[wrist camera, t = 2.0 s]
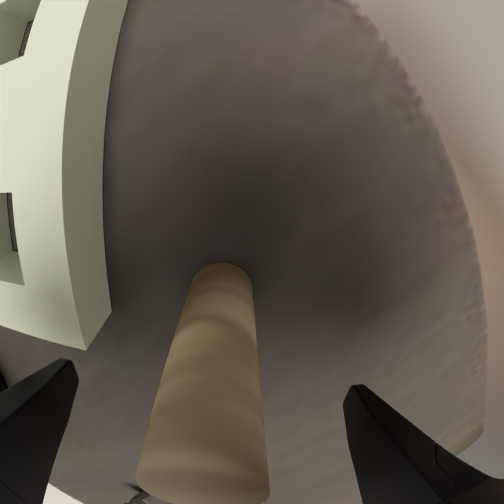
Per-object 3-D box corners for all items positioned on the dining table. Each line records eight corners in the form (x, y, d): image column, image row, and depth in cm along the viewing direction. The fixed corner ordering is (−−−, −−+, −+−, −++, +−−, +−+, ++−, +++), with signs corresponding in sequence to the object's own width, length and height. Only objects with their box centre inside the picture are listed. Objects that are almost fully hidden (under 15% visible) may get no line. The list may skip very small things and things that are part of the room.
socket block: (111, 311, 14) (86, 350, 11) (-4, 287, 13) (-34, 311, 10) (144, -45, 7) (124, -79, 4) (11, 0, 7) (-19, -12, 3)
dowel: (190, 313, 14) (148, 501, 5) (191, 259, 13) (121, 456, 4) (249, 318, 14) (261, 512, 5) (255, 264, 13) (281, 472, 4)
